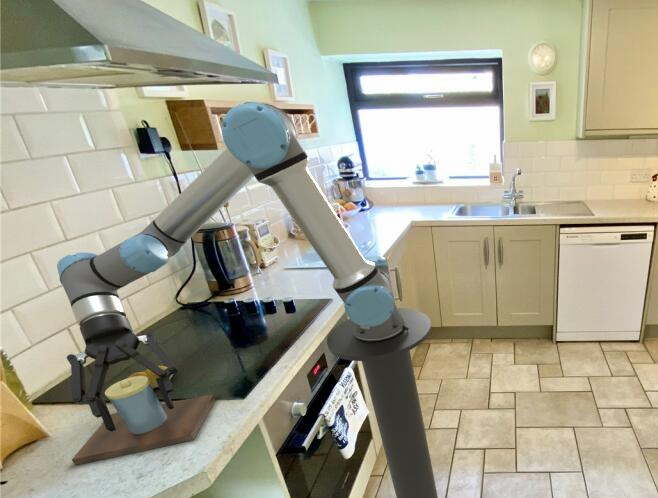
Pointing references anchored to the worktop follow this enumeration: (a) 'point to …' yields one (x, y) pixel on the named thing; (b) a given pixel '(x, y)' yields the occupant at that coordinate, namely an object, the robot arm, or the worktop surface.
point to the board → (174, 430)
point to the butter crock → (137, 404)
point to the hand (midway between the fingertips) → (142, 417)
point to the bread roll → (150, 376)
